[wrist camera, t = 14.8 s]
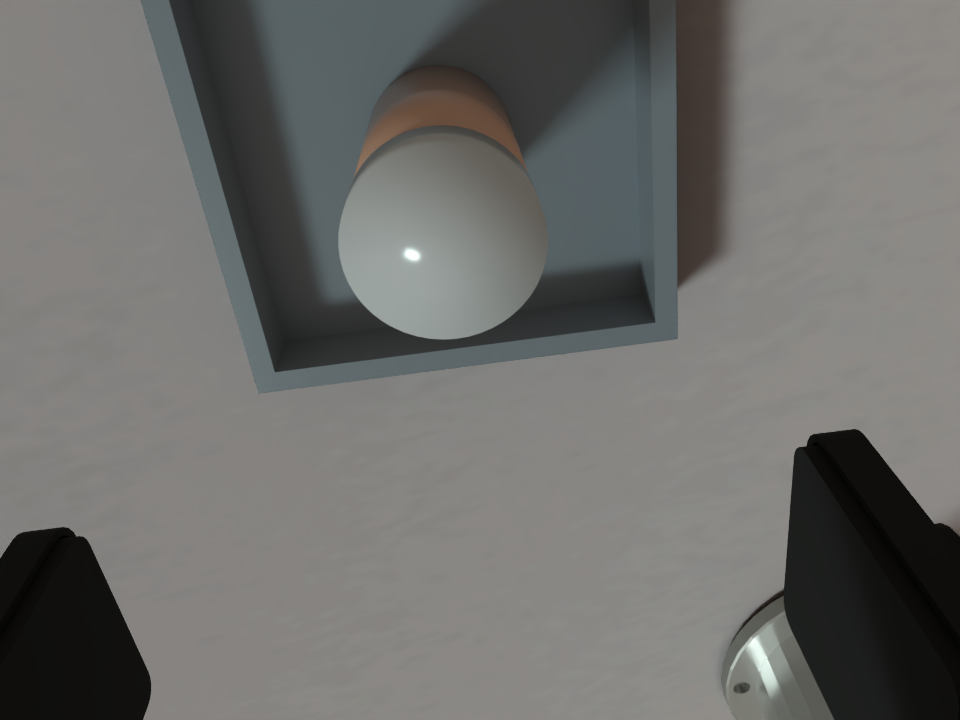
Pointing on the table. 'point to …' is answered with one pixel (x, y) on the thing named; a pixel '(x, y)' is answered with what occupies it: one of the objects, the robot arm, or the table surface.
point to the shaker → (442, 209)
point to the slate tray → (338, 143)
